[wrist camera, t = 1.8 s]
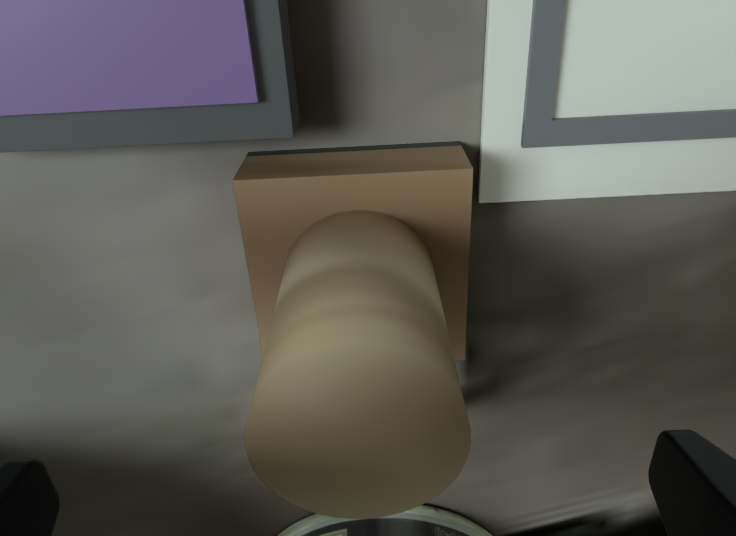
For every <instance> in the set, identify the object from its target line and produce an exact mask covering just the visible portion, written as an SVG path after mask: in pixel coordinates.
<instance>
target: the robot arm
mask: <svg viewBox="0 0 736 536" xmlns="http://www.w3.org/2000/svg"><path fill="white" fill-rule="evenodd" d="M648 476H649V483H650V487H651V490H652V493H653V495H654V498H655V501H656V504H657V507H658V509H659V512H660V515H661V518H662V521H663V523H664V526H665V529H666V532H667V535H668V536H736V460H735V459H734V458H732V457H731V456H730V455H728V454H727V453H725V452H724V451H722V450H721V449H719V448H718V447H716V446H715V445H713V444H712V443H711V442H709V441H708V440H706V439H705V438H703V437H702V436H700V435H699V434H697V433H696V432H694V431H691V430H665V431H662V432H661V433H660V434H659V436H658V438H657V441H656V445H655V448H654V452H653V456H652V459H651V463H650V466H649V474H648ZM58 512H59V496H58V493H57V491H56V489H55V487H54V484H53V482H52V480H51V478H50V476H49V474H48V472H47V469H46V467H45V465H44V464H43V463H42V462H41V461H40V460H37V459H27V460H13V461H9V462H7V463H5V464H4V465H2V466H1V467H0V536H51V535H52V532H53V528H54V525H55V522H56V519H57V516H58Z"/></svg>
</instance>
